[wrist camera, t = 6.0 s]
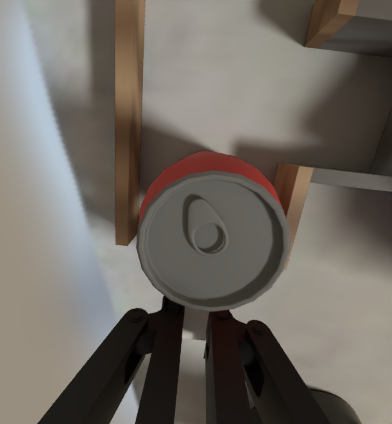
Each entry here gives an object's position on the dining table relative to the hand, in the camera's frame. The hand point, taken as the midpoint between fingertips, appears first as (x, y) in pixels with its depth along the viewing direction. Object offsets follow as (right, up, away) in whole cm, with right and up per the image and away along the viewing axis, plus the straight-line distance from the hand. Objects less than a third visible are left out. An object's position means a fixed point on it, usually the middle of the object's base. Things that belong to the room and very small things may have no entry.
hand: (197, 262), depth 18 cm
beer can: (+1, +7, +1) cm, 7 cm away
